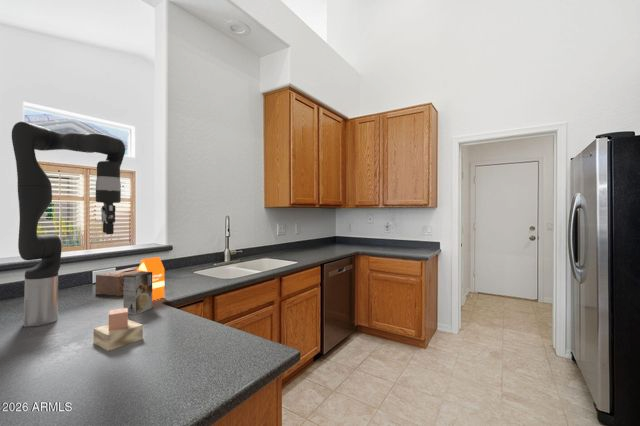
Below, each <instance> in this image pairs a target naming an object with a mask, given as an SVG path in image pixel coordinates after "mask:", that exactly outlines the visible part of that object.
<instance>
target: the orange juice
mask: <svg viewBox="0 0 640 426" xmlns="http://www.w3.org/2000/svg"><path fill="white" fill-rule="evenodd" d="M140 271H146V272H152V299H153V300H156V299H159V298H162V297H164V298H165V281H166V280H165V267H164V265H163V262H162V260H161V258H160V256H156V257H155V256H154V257H149V258H142V259H141V262H140V264H139V268H138V270H137V272H140ZM153 300H152V302H154V301H153ZM159 300H160V299H159ZM156 301H157V300H156Z"/></svg>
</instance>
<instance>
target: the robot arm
mask: <svg viewBox="0 0 640 426" xmlns="http://www.w3.org/2000/svg"><path fill="white" fill-rule="evenodd" d="M11 141H12V146H13V147H12V148H13V153H14V158H15V165H16V176H17V198H18V210H19V227H18V241H17V242H18V244H17V245H18V246H17V247H18V253H19V256H20V258H21V259H22V260H24V261H36V260H37V261H38V260H41V261H40V262H39V263H38V264H36V265H35V266H33V267H31V268H28V269H27V270H25V272H24V300H23V327H24V328H27V327H38V326H44V325H47V324H52V323H54V322H56V321H58V320H59V271H60V268H61V260H62V248H63V247H62V240H61V239H60V237H59V236H58V235H57V234H53V233H50V234H49V233H45V234H44V233H43V234H38V225H39V222H40V219H41V217H42V216H43V214H45V212H46V211H47V209H48V208H49V207H50V205H51V203H52V202H53V189H52V183H51V180H50V178H49V177H48V175H47V174H46V173H45V171H44V170H43V168H42V167H41V165H40V164H39V162H38V159H37V155H36V151H43V152H46V151H56V150H58V151H59V150H67V151H73V152H78V153H79V152H80V153H87V154H88V153H90V154H91V153H93V154H94V153H96V154H97V153H98V154H102V155H105V156H106V159H105V160H100V161H98V162H97V163H96V178H95V179H96V181H95V202H96V203H103V205H101V207H100V212H101V215H100V217H101V222H102V234H106V235H114V229H115V228H114V224H115V223H116V209H117V208H116V205H114V204H119V203H121V200H122V199H121V196H122V195H121V194H122V193H121V192H122V189H121V187H122V184H121V183H122V182H121V166H122V164H123V160H124V157H125V154H126V145H125V143H124V142H123V140H121V139H120V138H117V137H115V136H111V135H108V134H104V133H99V132H98V133H94V132H93V133H86V132H66V133H61V132H57V131H54V130H51V129H49V128H46V127H44V126H41V125H37V124H33V123H30V122H27V121H19V122H16V123H15V124H14V125H13V126H12V129H11Z"/></svg>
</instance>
